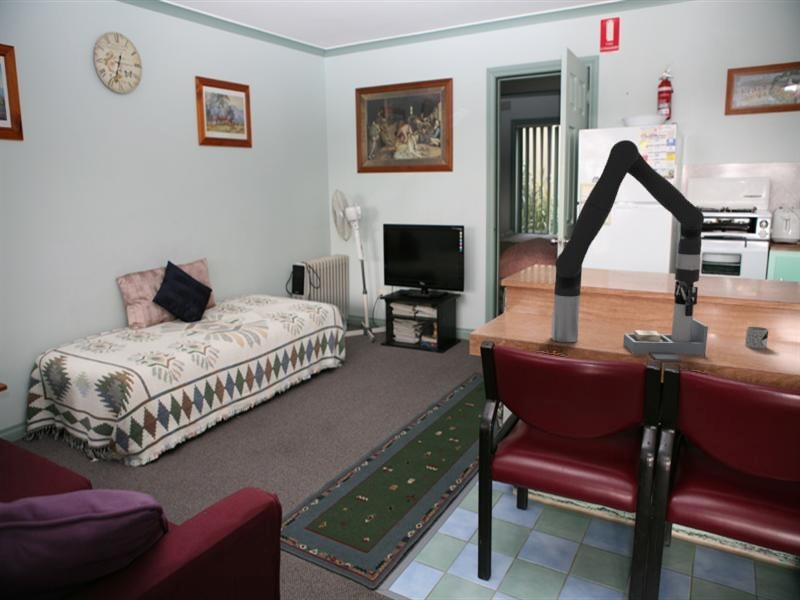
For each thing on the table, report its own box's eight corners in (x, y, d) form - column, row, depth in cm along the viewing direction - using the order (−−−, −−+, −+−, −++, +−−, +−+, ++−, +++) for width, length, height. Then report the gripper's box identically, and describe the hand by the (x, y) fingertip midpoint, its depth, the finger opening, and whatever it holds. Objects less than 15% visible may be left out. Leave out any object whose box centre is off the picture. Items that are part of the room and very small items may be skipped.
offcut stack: (637, 351, 212) (638, 335, 210) (633, 346, 218) (634, 330, 217) (662, 352, 210) (663, 335, 209) (656, 347, 217) (658, 330, 216)
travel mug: (693, 352, 210) (698, 295, 206) (672, 351, 211) (677, 295, 207) (688, 347, 216) (693, 292, 212) (668, 347, 217) (673, 292, 213)
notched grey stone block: (766, 350, 213) (768, 331, 211) (744, 347, 216) (746, 329, 215) (766, 343, 221) (768, 326, 220) (745, 341, 224) (747, 323, 223)
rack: (632, 353, 209) (634, 325, 207) (623, 344, 221) (625, 317, 219) (705, 354, 207) (708, 326, 205) (691, 345, 219) (694, 318, 217)
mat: (656, 361, 200) (656, 358, 199) (648, 354, 207) (648, 352, 207) (681, 361, 199) (681, 359, 199) (672, 354, 207) (673, 352, 207)
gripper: (669, 264, 215) (665, 309, 218) (684, 269, 201) (680, 317, 204) (691, 264, 214) (687, 309, 217) (707, 270, 200) (703, 318, 203)
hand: (683, 313), depth 211 cm, fingers open, 8 cm apart
